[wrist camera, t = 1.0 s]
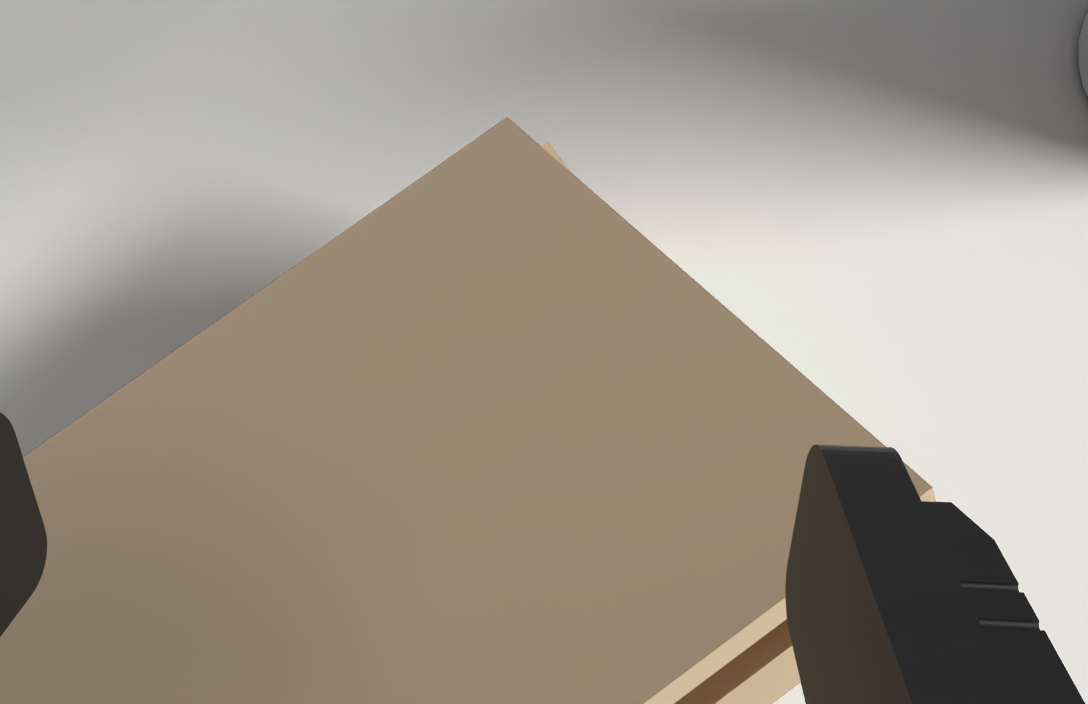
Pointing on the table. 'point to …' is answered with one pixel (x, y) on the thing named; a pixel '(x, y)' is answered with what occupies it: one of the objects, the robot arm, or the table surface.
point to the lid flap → (432, 474)
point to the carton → (747, 660)
